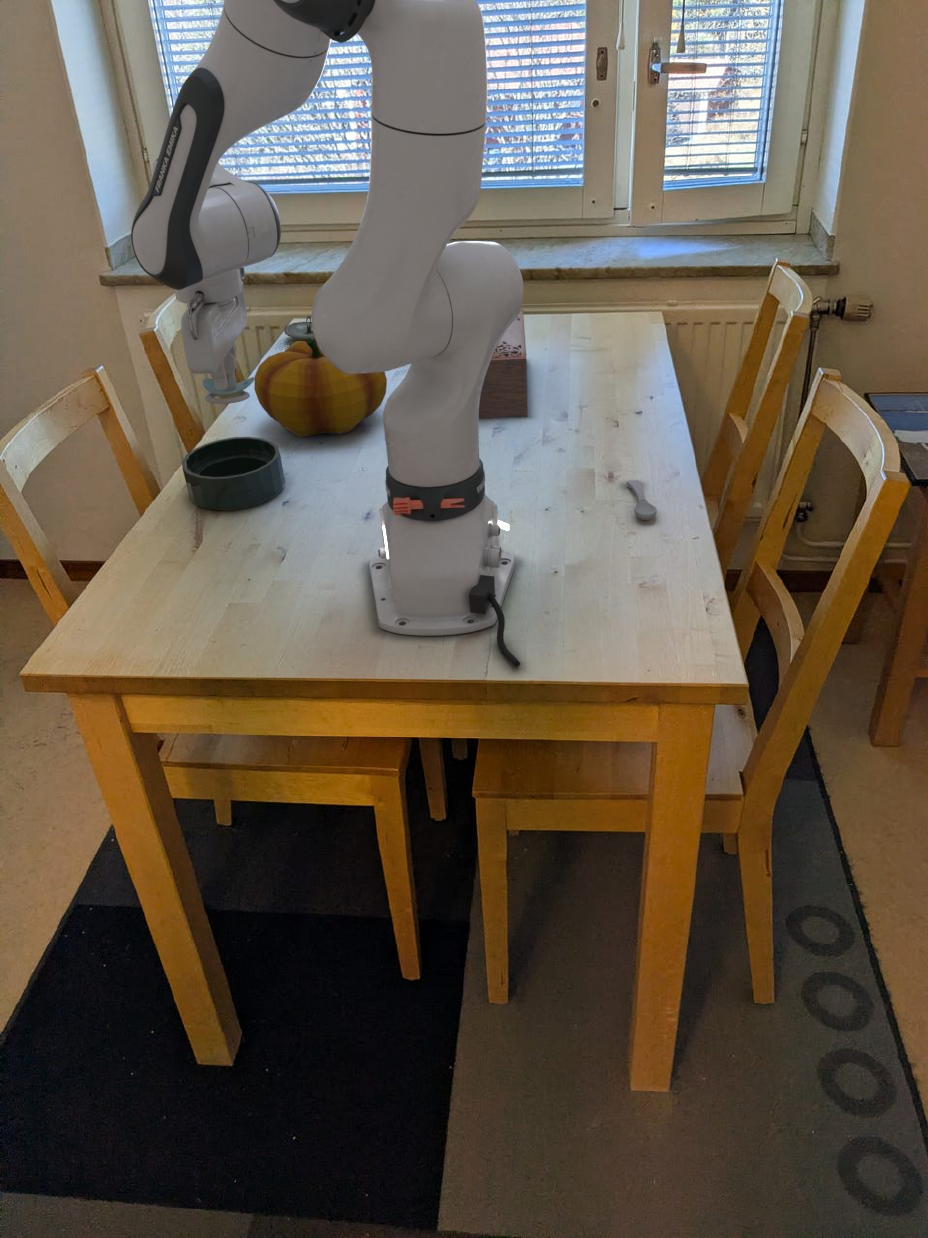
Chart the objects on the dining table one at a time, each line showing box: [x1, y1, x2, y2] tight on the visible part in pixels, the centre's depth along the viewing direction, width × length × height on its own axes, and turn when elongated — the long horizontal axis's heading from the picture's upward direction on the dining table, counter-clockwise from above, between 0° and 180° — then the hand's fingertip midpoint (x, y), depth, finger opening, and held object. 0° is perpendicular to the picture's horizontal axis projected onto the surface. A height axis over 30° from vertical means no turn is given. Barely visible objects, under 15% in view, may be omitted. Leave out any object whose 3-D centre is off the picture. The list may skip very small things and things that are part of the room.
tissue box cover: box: [479, 308, 529, 420], centre depth 173 cm, size 26×14×10 cm, turn 178°
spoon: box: [626, 479, 657, 521], centre depth 137 cm, size 3×12×2 cm, turn 2°
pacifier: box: [202, 353, 255, 405], centre depth 137 cm, size 7×6×6 cm
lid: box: [283, 315, 316, 342], centre depth 203 cm, size 11×10×5 cm
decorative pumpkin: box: [253, 338, 388, 437], centre depth 163 cm, size 20×22×15 cm
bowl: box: [181, 436, 286, 511], centre depth 146 cm, size 14×14×6 cm
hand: (226, 381), depth 139 cm, fingers closed on pacifier, 3 cm apart
